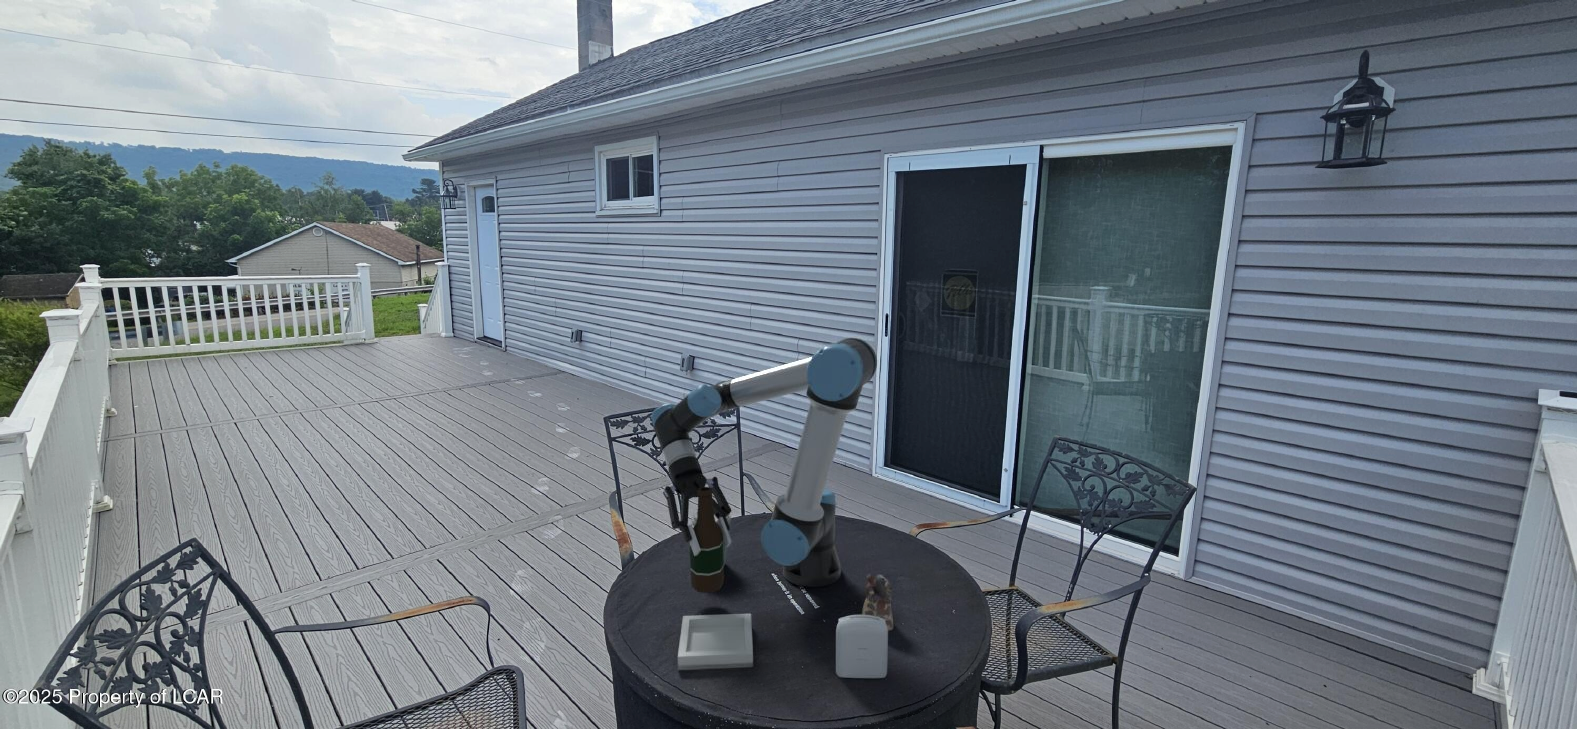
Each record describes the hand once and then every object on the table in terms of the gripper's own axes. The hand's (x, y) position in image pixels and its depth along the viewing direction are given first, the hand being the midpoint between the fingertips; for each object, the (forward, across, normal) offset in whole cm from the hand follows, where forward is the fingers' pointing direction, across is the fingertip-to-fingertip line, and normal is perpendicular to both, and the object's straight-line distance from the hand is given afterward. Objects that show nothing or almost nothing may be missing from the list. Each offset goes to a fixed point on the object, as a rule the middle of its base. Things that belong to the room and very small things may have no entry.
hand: (713, 548), depth 153 cm
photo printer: (+37, -14, +14) cm, 42 cm away
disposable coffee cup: (-4, -10, -26) cm, 28 cm away
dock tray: (+20, +6, -2) cm, 21 cm away
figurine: (+29, -29, +6) cm, 41 cm away
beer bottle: (+5, 0, -10) cm, 11 cm away
